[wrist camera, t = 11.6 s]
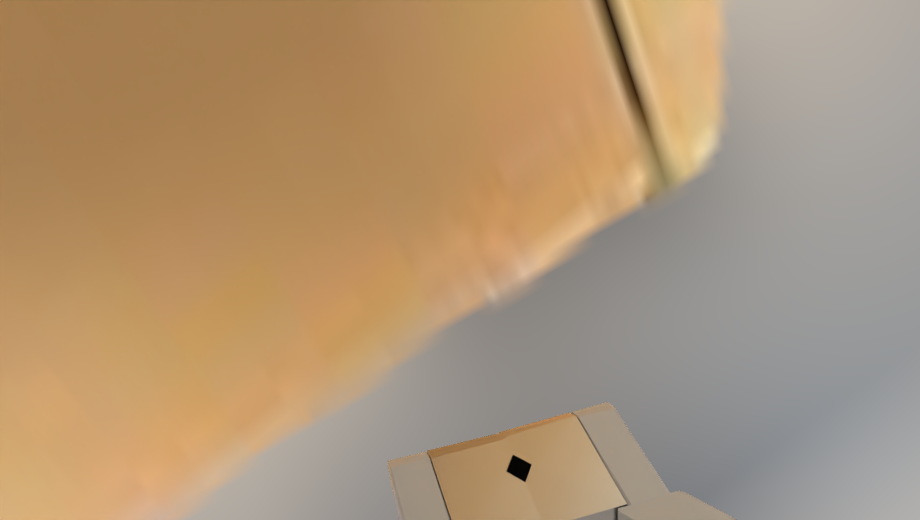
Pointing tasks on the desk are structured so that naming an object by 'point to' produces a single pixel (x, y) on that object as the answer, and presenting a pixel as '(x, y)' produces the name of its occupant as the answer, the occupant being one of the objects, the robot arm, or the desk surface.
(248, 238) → the desk surface
